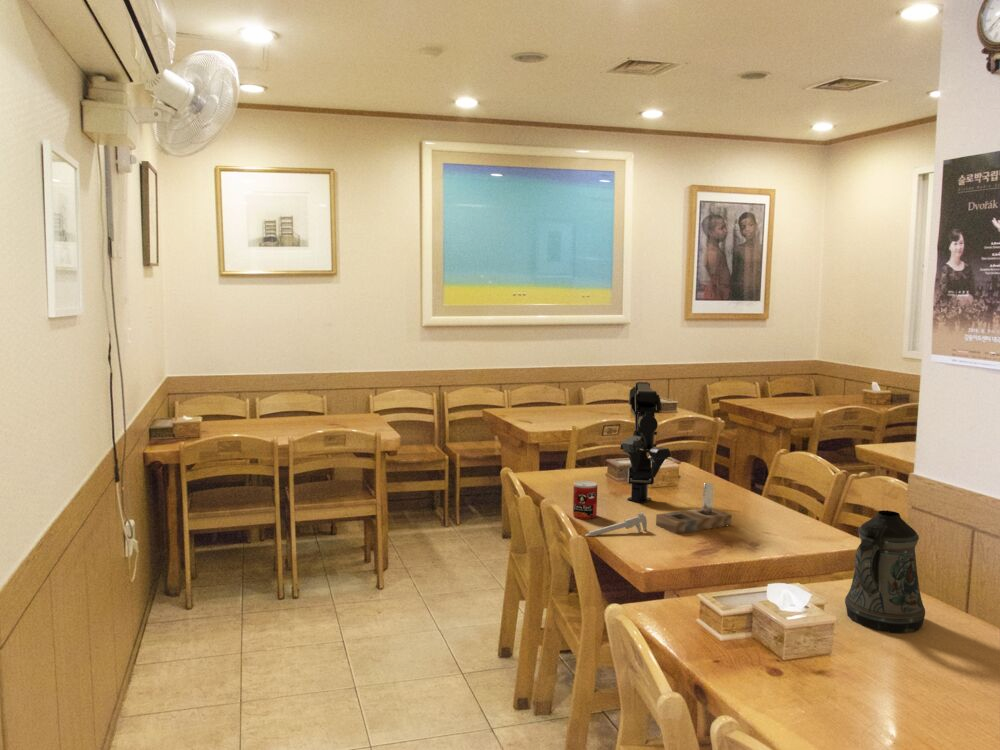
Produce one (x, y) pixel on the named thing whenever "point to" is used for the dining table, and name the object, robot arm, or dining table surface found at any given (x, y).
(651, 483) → the robot arm
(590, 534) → the caliper
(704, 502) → the drill rod
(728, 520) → the tool block
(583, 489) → the canned food
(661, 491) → the dining table surface
